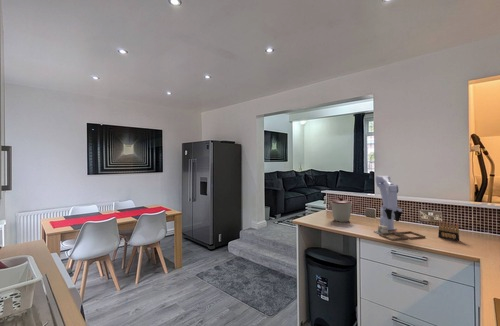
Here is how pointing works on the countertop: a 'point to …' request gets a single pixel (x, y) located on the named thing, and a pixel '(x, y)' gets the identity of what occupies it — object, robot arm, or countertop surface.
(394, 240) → the tray near
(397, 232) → the tray far
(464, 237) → the countertop surface
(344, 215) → the canister
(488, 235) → the countertop surface
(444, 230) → the ammunition clip
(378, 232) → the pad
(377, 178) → the robot arm
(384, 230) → the cube
